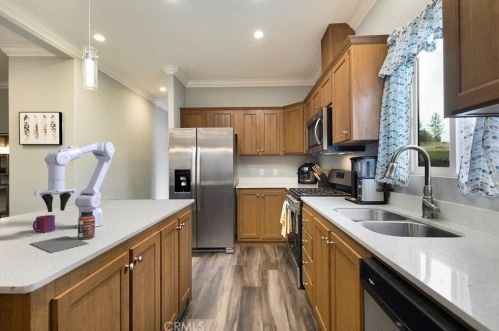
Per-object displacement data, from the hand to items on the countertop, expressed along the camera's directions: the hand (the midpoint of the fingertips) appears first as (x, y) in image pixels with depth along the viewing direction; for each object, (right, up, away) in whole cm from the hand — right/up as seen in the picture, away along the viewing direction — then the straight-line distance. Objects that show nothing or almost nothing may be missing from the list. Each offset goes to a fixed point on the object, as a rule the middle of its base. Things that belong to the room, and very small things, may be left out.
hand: (56, 211), depth 105 cm
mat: (+11, -10, -12) cm, 19 cm away
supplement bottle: (+15, -11, -3) cm, 19 cm away
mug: (-10, -11, +5) cm, 15 cm away
